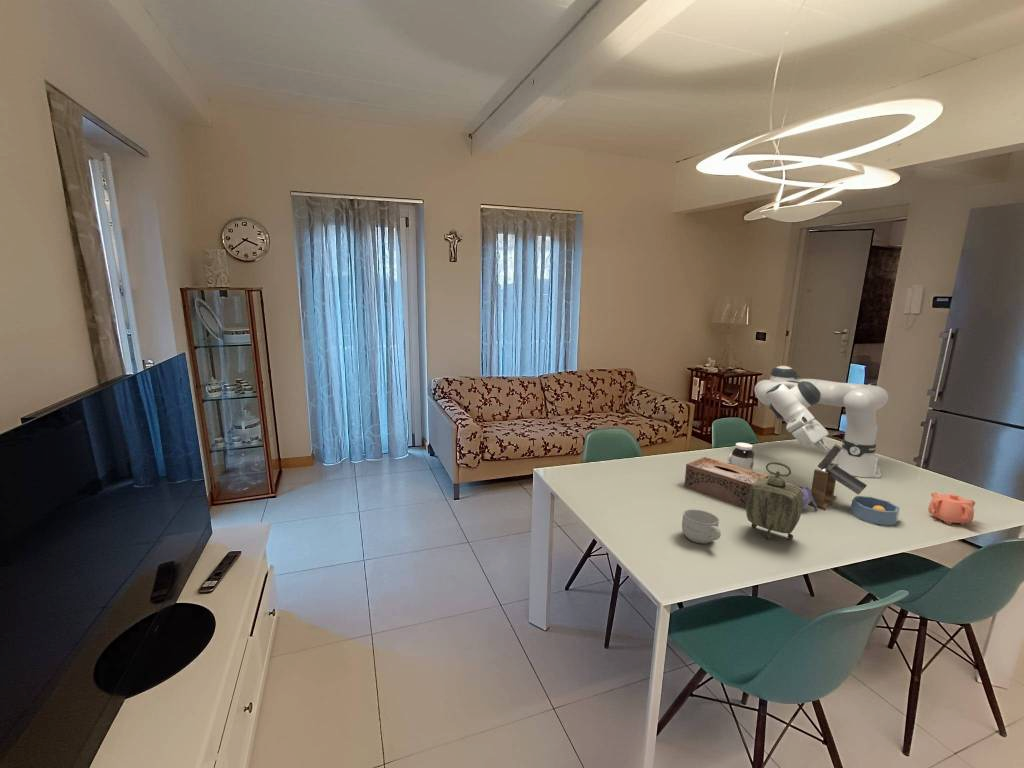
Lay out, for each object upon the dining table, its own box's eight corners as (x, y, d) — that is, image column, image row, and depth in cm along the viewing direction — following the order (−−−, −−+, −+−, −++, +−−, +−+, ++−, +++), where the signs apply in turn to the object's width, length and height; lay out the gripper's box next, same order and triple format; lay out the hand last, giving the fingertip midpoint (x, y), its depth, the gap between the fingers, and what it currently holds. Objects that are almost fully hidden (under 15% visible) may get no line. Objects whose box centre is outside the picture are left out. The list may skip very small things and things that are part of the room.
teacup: (675, 530, 152) (677, 508, 150) (706, 529, 153) (708, 507, 151) (695, 553, 138) (697, 529, 137) (729, 552, 139) (732, 528, 138)
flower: (822, 490, 170) (798, 478, 170) (828, 508, 163) (802, 495, 163) (803, 503, 175) (780, 492, 175) (808, 521, 169) (784, 509, 169)
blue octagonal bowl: (856, 505, 173) (858, 493, 172) (899, 518, 163) (902, 504, 162) (846, 515, 164) (849, 502, 163) (892, 529, 155) (894, 515, 154)
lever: (821, 463, 178) (838, 441, 173) (862, 490, 169) (882, 468, 164) (813, 469, 172) (831, 447, 167) (855, 497, 163) (876, 475, 158)
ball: (873, 514, 165) (873, 503, 165) (887, 516, 162) (887, 505, 162) (870, 517, 163) (870, 506, 162) (884, 520, 160) (884, 508, 159)
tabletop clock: (797, 539, 148) (808, 465, 143) (791, 550, 141) (802, 473, 136) (749, 524, 157) (757, 454, 153) (741, 533, 151) (749, 461, 146)
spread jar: (744, 474, 202) (747, 449, 200) (719, 466, 211) (722, 442, 209) (757, 469, 209) (760, 444, 207) (733, 461, 218) (736, 438, 216)
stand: (818, 494, 182) (823, 460, 180) (836, 499, 178) (841, 464, 175) (806, 504, 173) (811, 469, 170) (824, 510, 168) (830, 474, 166)
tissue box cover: (684, 487, 188) (686, 464, 186) (702, 479, 197) (704, 456, 195) (748, 510, 168) (751, 484, 166) (765, 499, 177) (768, 475, 175)
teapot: (928, 509, 170) (933, 485, 169) (973, 521, 161) (978, 495, 160) (922, 518, 163) (927, 493, 161) (969, 531, 154) (974, 504, 152)
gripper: (802, 420, 186) (827, 450, 181) (784, 429, 173) (810, 461, 167) (816, 412, 182) (842, 442, 177) (799, 420, 169) (826, 453, 163)
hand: (826, 451), depth 172 cm, fingers closed
